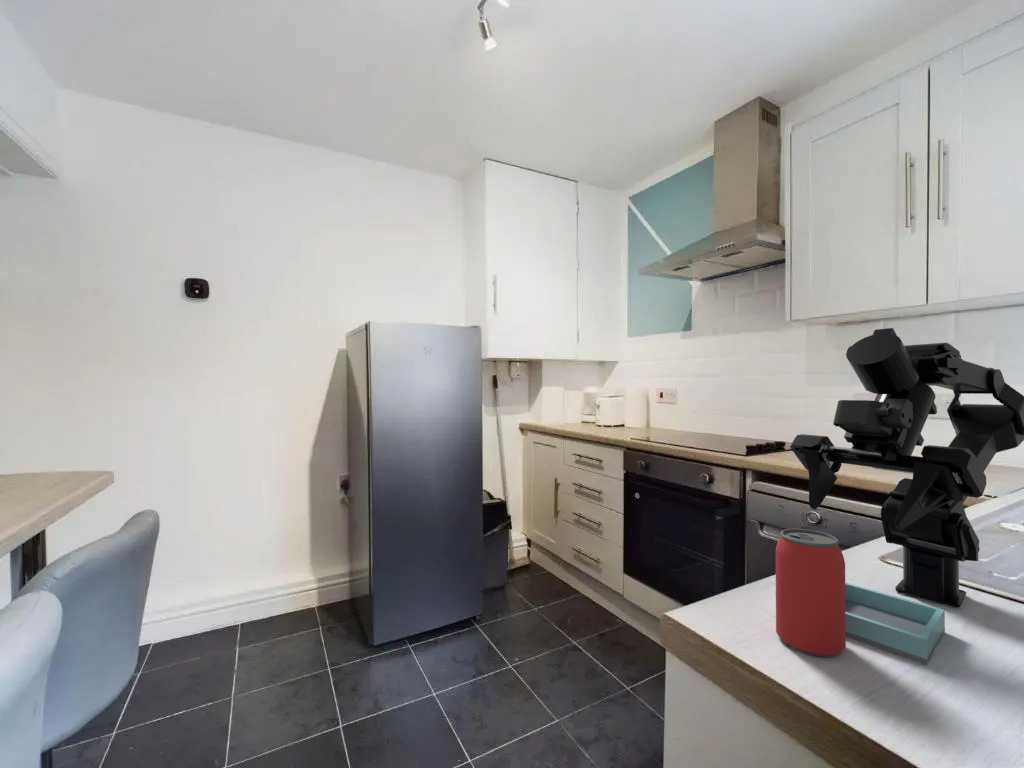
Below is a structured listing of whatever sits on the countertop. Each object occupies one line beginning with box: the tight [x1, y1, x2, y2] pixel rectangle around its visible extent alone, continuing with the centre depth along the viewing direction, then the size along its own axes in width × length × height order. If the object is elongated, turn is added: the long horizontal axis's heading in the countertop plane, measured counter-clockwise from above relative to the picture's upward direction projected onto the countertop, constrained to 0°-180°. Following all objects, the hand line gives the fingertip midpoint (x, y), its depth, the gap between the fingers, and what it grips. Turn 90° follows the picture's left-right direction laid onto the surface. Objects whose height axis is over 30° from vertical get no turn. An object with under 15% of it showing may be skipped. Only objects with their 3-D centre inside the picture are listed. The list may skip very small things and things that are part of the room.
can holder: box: [845, 581, 946, 666], centre depth 54 cm, size 10×10×3 cm
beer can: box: [775, 528, 847, 658], centre depth 51 cm, size 7×7×12 cm
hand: (851, 516), depth 54 cm, fingers open, 9 cm apart
